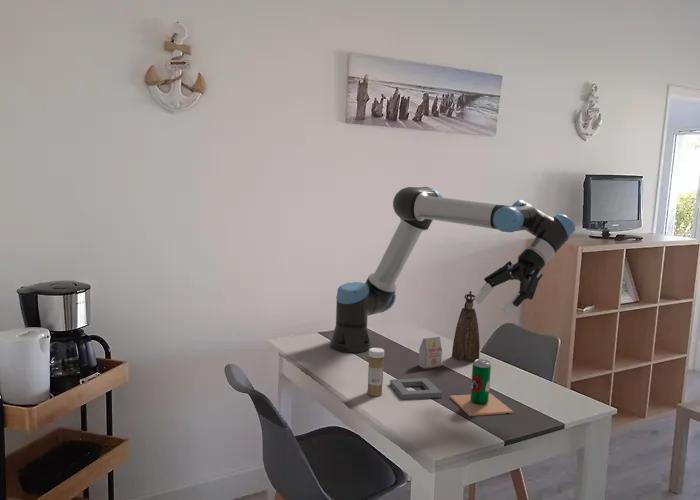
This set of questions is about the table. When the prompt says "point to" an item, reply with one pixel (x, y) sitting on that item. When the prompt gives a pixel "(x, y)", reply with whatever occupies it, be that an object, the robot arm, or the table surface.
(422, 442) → the table surface
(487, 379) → the soda can
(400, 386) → the socket block
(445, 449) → the table surface
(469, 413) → the terracotta tile
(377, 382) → the sprinkles bottle
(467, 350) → the statue
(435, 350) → the white red carton
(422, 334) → the table surface
